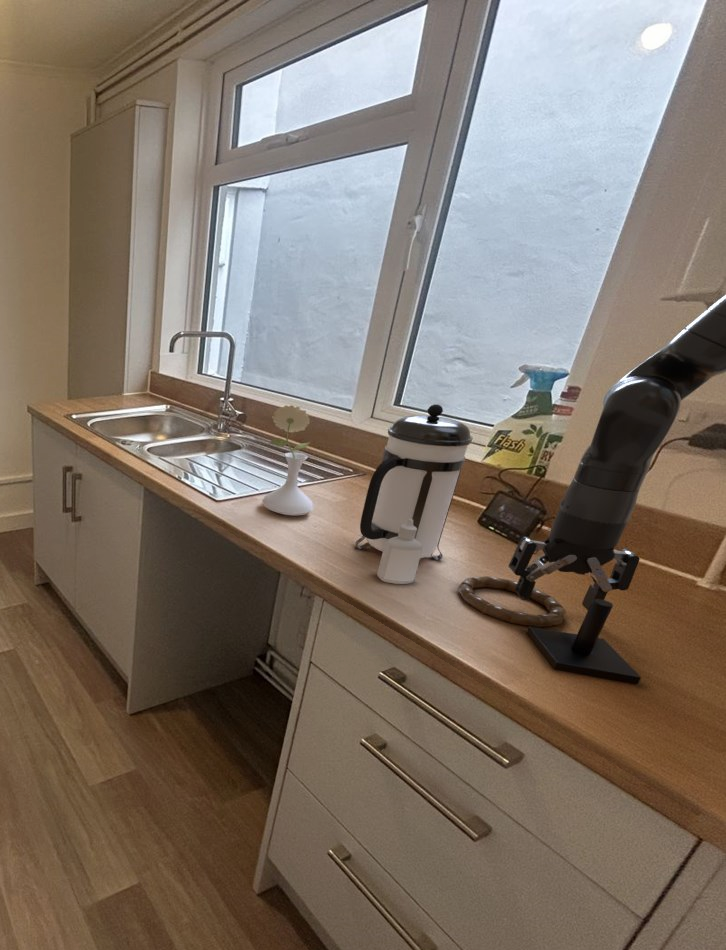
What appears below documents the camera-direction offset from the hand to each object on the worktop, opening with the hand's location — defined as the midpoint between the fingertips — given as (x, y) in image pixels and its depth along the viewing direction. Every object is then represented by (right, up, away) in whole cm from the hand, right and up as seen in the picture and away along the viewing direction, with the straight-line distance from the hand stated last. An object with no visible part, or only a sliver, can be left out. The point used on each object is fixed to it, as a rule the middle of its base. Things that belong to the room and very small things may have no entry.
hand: (554, 603), depth 85 cm
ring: (-5, 0, +2) cm, 6 cm away
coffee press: (-13, +6, +19) cm, 24 cm away
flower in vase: (-26, +15, +42) cm, 51 cm away
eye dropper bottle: (-19, +2, +11) cm, 22 cm away
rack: (-6, -6, -10) cm, 13 cm away
